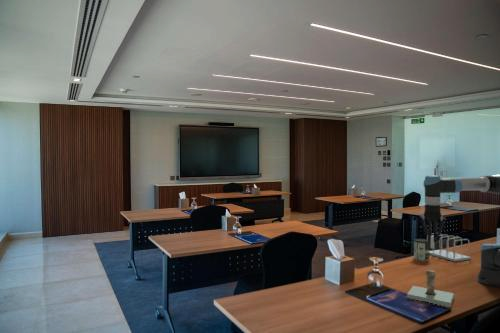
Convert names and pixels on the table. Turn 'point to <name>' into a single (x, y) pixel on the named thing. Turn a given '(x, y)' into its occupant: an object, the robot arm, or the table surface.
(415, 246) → the coffee can
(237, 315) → the table surface
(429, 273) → the peg
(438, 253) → the file sorter
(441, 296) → the board
